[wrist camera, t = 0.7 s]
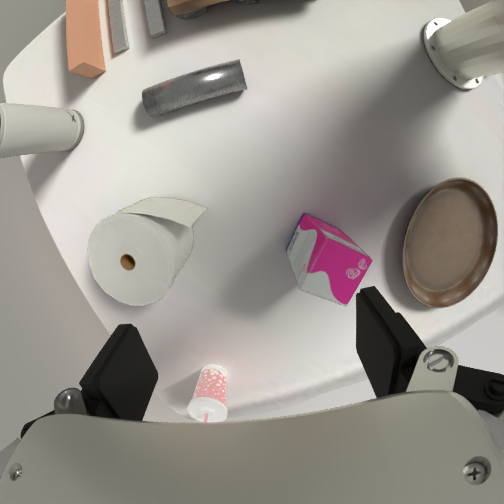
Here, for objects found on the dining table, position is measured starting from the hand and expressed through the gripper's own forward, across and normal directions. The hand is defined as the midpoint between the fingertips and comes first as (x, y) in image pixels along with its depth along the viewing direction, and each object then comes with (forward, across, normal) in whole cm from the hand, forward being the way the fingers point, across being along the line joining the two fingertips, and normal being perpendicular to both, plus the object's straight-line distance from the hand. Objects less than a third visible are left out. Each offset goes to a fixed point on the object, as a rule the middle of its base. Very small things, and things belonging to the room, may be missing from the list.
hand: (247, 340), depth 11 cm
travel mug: (+27, +24, -18) cm, 40 cm away
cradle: (+26, +11, -34) cm, 44 cm away
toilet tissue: (+27, +13, 0) cm, 30 cm away
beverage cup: (+27, +12, +26) cm, 39 cm away
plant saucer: (+27, -29, +9) cm, 41 cm away
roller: (+26, +4, -17) cm, 32 cm away
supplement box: (+26, -7, +5) cm, 28 cm away
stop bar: (+26, +18, -34) cm, 46 cm away
